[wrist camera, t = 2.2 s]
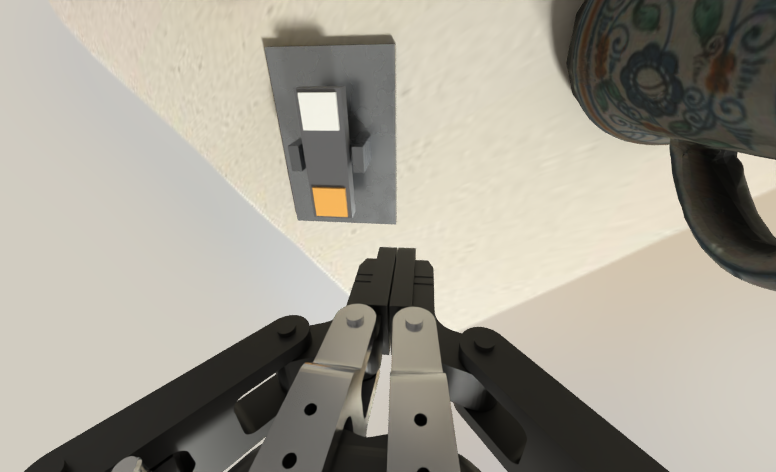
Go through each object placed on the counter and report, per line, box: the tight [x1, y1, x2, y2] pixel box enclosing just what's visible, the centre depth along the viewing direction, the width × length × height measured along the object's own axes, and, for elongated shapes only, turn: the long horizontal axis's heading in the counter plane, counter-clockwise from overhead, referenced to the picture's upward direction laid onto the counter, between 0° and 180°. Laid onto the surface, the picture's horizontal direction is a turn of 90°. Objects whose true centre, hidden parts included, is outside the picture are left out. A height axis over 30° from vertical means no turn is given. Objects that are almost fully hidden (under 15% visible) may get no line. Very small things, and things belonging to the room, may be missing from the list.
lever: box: [294, 86, 355, 218], centre depth 29 cm, size 12×4×2 cm, turn 1°
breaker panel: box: [265, 44, 397, 224], centre depth 31 cm, size 18×12×5 cm, turn 1°
